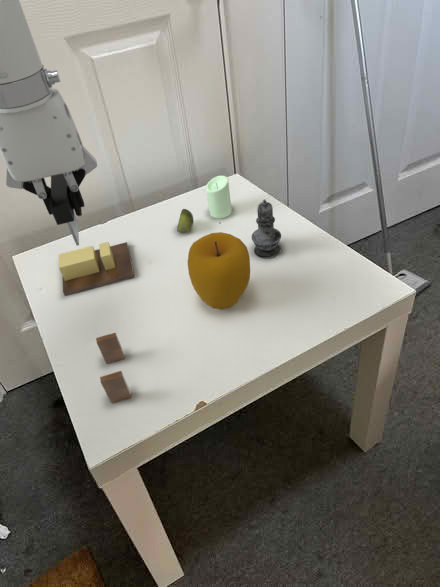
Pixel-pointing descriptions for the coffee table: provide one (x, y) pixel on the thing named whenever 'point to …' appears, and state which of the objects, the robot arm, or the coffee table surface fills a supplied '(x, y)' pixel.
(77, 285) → the butter board
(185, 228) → the lime
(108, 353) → the brown block
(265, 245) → the black chess piece
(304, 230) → the coffee table surface
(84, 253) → the butter block
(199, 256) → the apple
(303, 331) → the coffee table surface
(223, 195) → the candle
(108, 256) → the butter slice
